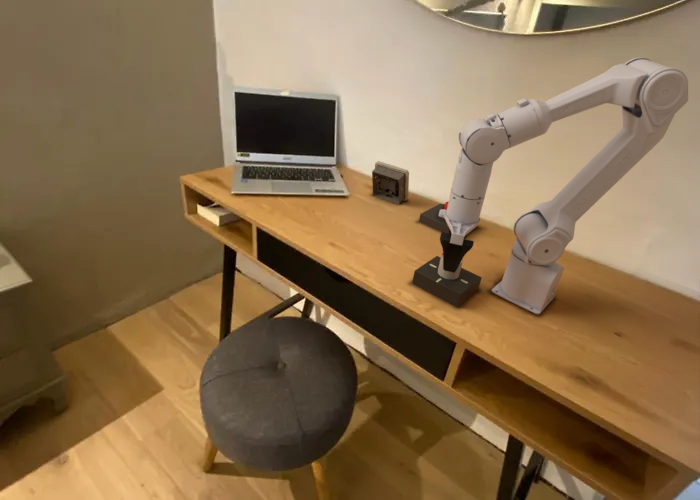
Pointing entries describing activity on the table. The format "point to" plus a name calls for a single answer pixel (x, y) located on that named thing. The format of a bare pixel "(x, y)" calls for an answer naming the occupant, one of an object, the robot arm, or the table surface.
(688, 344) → the table surface
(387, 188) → the electrical switch
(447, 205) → the power button
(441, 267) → the dial
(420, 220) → the button block
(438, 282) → the dial panel
